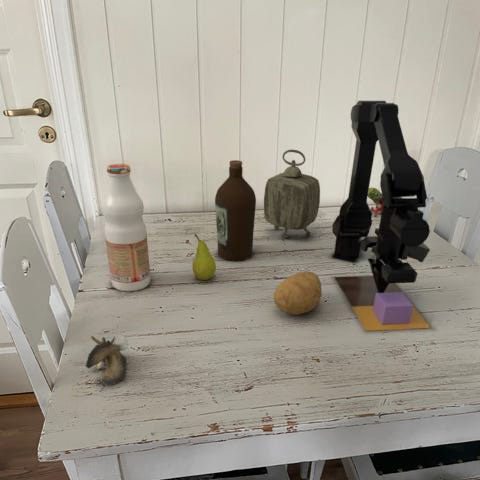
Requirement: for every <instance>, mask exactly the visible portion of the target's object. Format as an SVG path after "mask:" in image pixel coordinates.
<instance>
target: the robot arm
mask: <svg viewBox="0 0 480 480" xmlns="http://www.w3.org/2000/svg"><path fill="white" fill-rule="evenodd" d="M350 121H351V129H352V132H353V134H354V137H355V139H356V140H355V141H356V142H355V147H354V155H353V162H352V169H351V175H350V183H349V190H348V195H347V198H346V199H345V201H344V202H343V203H342V205H341V206H340V208H339V214H338V215H337V216H336V218H335V220H334V221H333V223H332V229H331V230H332V234H333V235H334V236H335V245H334V252H333V253H332V254H331V258H334V259H338V260H343V261H348V262H352V263H355V262H356V261H357V260H358V259H359V258H360V257H361V256H362V253H367V252H368V251H369V249H371V252H370V253H371V254H372V255H371V258H367V262H368V264H369V267H370V270H371V273H372V276H373V277H374V280H375V284H376V287H377V291H378V293H384V291H385V290H386V288H387V286H388V285H389V283H395V284H415V283H416V282H417V278H418V272H417V271H416V270H415V268H414V267H413V266H412V265H411V264H410V263H409V262H405V261H407V260H408V258H410V259H413V260H416V261H418V262H419V263H423V262H424V261H425V259H426V257H427V256H428V254H429V253H430V251H431V248H429V247H428V245H426V244H425V242H426V240H428V237H429V235H430V233H431V229H430V225H429V222H428V221H427V220H425V219H424V215H425V213H424V211H422V210H420V209H419V208H426V206H427V202H426V201H427V199H428V195H427V189H426V183H425V178H424V174H423V172H422V170H421V168H420V165H419V163H418V161H417V160H416V159H415V158H413V157H412V156H411V155H410V154H409V152H408V149H407V145H406V141H405V138H404V133H403V130H402V127H401V123H400V119H399V106H398V104H397V103H394V102H387V101H386V100H358V101H357V102H356V104H354V105H353V106H352V107H351V109H350ZM377 142H378V145H379V148H380V152H381V156H382V161H383V166H384V167H383V170H382V172H381V174H380V180H379V181H380V183H379V184H380V185H379V187H380V192H381V193H382V196H383V197H382V200H383V201H384V203H383V207H382V212H381V213H380V218H379V219H380V220H379V225H378V227H377V228H374V234H375V235H376V236H369V234H370V231H371V228H372V226H373V219H372V216H373V211H372V210H371V207H370V206H369V204H368V190H369V188H370V183H371V177H372V171H373V165H374V159H375V155H376V154H375V153H376V148H377ZM403 260H404V262H403Z"/></svg>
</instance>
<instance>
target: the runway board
mask: <svg viewBox="0 0 480 480" xmlns="http://www.w3.org/2000/svg"><path fill="white" fill-rule="evenodd" d="M334 280H335V281H336V283H337V285H338V286H339V289H340V290H341V292H342V293H343V295H344V296H345V298H346V300H347V301H348V303H349V305H350V307H351V308H352V307H356V306H374V301H375V296H376V293H378V291H377V287H376V284H375V280H374V277H373V275H358V276H357V275H356V276H334ZM393 292H402V290H401V289H400V288H399V286H398V285H397V283H389V285H388V286H387V288H386V290H385V291H384V293H393Z"/></svg>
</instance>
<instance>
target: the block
mask: <svg viewBox="0 0 480 480" xmlns="http://www.w3.org/2000/svg"><path fill="white" fill-rule="evenodd" d="M413 306H414V305H413V303H412V302H411V301H410V300H409V298H408V297H407V296H406V294H405V293H403V291H401V292H393V293H376V296H375V301H374V307H373V312H374V313H375V315H376V316H377V318H378V319H379V321H380V322H381V324H382V325H390V324H409V322H410V317H411V313H412V309H413Z"/></svg>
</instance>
